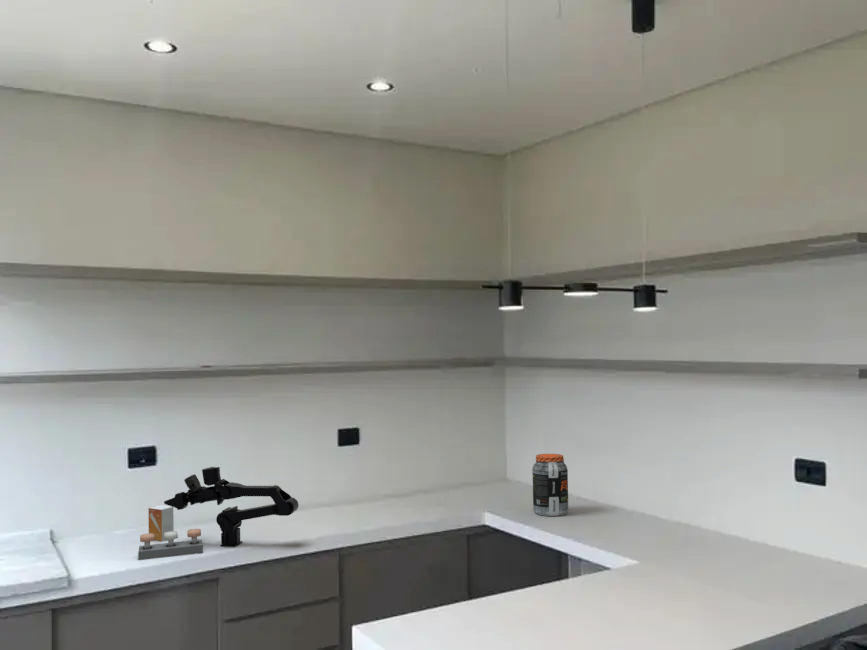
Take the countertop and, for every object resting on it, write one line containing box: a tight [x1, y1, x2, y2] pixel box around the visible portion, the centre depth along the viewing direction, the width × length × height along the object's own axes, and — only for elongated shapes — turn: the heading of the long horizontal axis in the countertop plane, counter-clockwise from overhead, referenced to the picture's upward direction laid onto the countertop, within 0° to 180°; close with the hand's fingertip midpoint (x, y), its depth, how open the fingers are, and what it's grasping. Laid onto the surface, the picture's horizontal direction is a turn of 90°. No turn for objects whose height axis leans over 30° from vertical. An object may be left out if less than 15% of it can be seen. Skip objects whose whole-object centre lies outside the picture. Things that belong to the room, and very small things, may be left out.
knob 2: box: [186, 528, 202, 544], centre depth 292 cm, size 5×5×5 cm
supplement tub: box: [532, 453, 569, 517], centre depth 341 cm, size 16×16×26 cm
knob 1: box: [139, 532, 155, 549], centre depth 287 cm, size 5×5×5 cm
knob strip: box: [137, 539, 204, 561], centre depth 290 cm, size 23×9×3 cm, turn 109°
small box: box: [147, 504, 175, 542], centre depth 312 cm, size 8×6×13 cm
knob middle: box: [164, 530, 179, 547], centre depth 290 cm, size 5×5×5 cm
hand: (169, 500), depth 304 cm, fingers open, 9 cm apart
